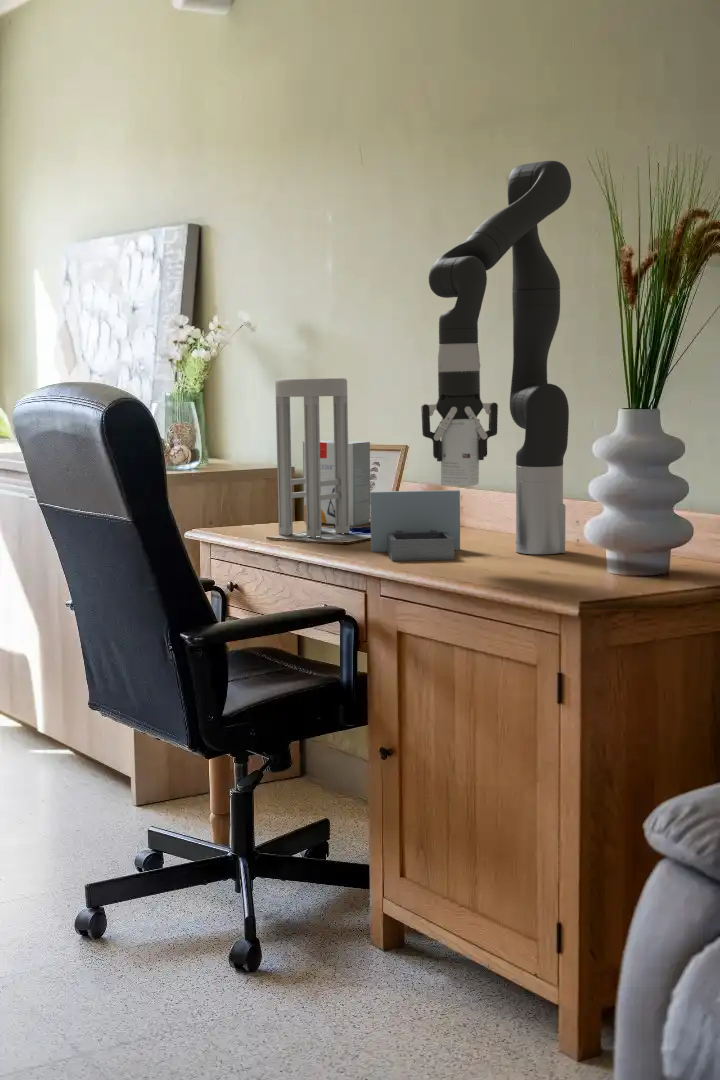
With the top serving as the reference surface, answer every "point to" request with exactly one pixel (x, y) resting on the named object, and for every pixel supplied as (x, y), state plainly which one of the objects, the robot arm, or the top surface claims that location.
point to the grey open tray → (420, 546)
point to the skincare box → (460, 453)
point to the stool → (312, 452)
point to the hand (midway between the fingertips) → (460, 460)
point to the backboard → (414, 514)
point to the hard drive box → (357, 481)
